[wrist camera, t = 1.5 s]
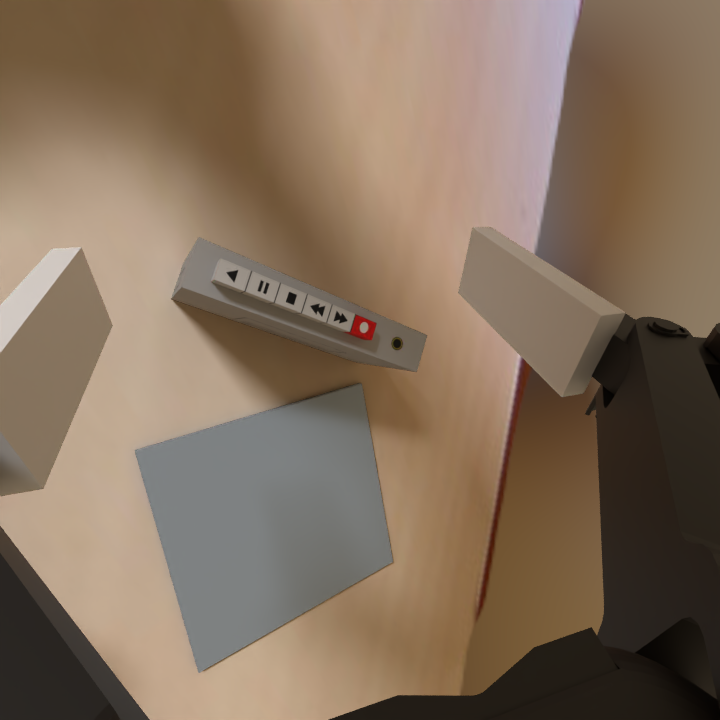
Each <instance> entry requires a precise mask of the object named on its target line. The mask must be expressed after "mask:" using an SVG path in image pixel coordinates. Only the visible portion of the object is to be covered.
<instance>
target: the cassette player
mask: <svg viewBox="0 0 720 720" xmlns="http://www.w3.org/2000/svg"><path fill="white" fill-rule="evenodd" d="M171 299H173V300H176V301H178V302H181V303H184V304H187V305H190V306H193V307H196V308H199V309H202V310H205V311H208V312H211V313H213V314H216V315H219V316H222V317H225V318H228V319H231V320H234V321H237V322H240V323H243V324H245V325H248V326H251V327H254V328H257V329H260V330H263V331H266V332H269V333H272V334H275V335H278V336H280V337H283V338H286V339H289V340H292V341H295V342H298V343H301V344H304V345H307V346H310V347H313V348H315V349H318V350H321V351H324V352H327V353H330V354H333V355H336V356H339V357H342V358H345V359H347V360H350V361H353V362H356V363H363V364H369V365H375V366H382V367H388V368H394V369H401V370H407V371H413V372H417V369H418V366H419V362H420V359H421V355H422V352H423V348H424V345H425V341H426V338H427V335H425V334H423V333H421V332H418V331H416V330H414V329H411V328H409V327H407V326H404V325H402V324H400V323H397V322H395V321H393V320H390V319H388V318H386V317H384V316H381V315H379V314H377V313H374V312H372V311H370V310H367V309H365V308H363V307H360V306H358V305H356V304H353V303H351V302H349V301H346V300H344V299H342V298H339V297H337V296H335V295H332V294H330V293H328V292H325V291H323V290H321V289H318V288H316V287H314V286H311V285H309V284H307V283H304V282H302V281H300V280H297V279H295V278H293V277H290V276H288V275H286V274H283V273H281V272H279V271H276V270H274V269H272V268H269V267H267V266H265V265H262V264H260V263H258V262H255V261H253V260H251V259H248V258H246V257H244V256H241V255H239V254H237V253H235V252H232V251H230V250H228V249H225V248H223V247H221V246H218V245H216V244H214V243H211V242H209V241H207V240H204V239H202V238H200V237H199V238H198V239H197V241H196V243H195V244H194V246H193V248H192V249H191V251H190V253H189V255H188V256H187V258H186V260H185V261H184V263H183V266H182V269H181V272H180V275H179V278H178V280H177V283H176V286H175V289H174V292H173V295H172V298H171Z"/></svg>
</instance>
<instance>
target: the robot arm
mask: <svg viewBox="0 0 720 720" xmlns="http://www.w3.org/2000/svg"><path fill="white" fill-rule="evenodd" d="M458 293H459V294H460V295H461V296H462V297H463V298H464V299H465V300H466V301H467V302H468V303H469V304H470V305H471V306H472V307H473V308H474V309H475V310H476V311H477V312H478V313H479V314H480V315H481V316H482V317H483V318H484V319H485V320H486V321H487V322H488V323H489V324H490V325H491V326H492V327H493V328H494V329H495V330H496V331H497V332H498V333H499V334H500V335H501V336H502V338H503V339H504V340H505V341H506V342H507V343H508V344H509V345H510V346H511V347H512V348H513V349H514V350H515V351H516V352H517V353H518V354H519V355H520V356H521V357H522V358H523V359H524V360H525V361H526V362H527V363H528V364H529V365H530V366H531V367H532V368H533V369H534V370H535V371H536V372H537V373H538V374H539V375H540V376H541V377H542V378H543V379H544V380H545V381H546V382H547V383H548V384H549V385H550V386H551V387H552V388H553V389H554V390H555V391H556V392H557V393H558V394H559V395H560V396H561V397H565V396H571V395H577V394H582V393H584V391H585V389H586V387H587V386H588V383H589V382H590V380H591V378H592V377H594V378H595V379H596V380H597V381H598V382H599V383H600V384H601V385H600V387H599V389H598V391H597V392H596V394H595V396H594V398H593V400H592V401H591V403H590V405H589V407H588V408H587V410H586V413H585V414H586V415H590V413H591V411H593V410H596V419H597V443H598V468H599V492H600V514H601V541H602V565H603V588H604V615H603V621H602V624H601V626H600V629H599V632H598V635H596V634H595V632H594V631H593V629H592V628H588V629H585V630H583V631H580V632H577V633H574V634H571V635H568V636H566V637H563V638H560V639H557V640H554V641H552V642H549V643H546V644H543V645H540V646H537V647H534V648H533V649H532V650H531V651H530V652H529V653H527V654H526V655H525V656H524V657H523V658H522V659H521V660H519V661H518V662H517V663H516V664H515V665H514V666H513V667H511V668H510V669H509V670H508V671H507V672H506V673H505V674H503V675H502V676H501V677H500V678H499V679H498V680H497V681H496V682H494V683H493V684H492V685H491V686H490V687H489V688H488V689H487V690H485V691H484V692H483V693H481V694H478V695H474V696H422V695H397V696H395V697H392V698H389V699H386V700H383V701H380V702H378V703H375V704H372V705H369V706H366V707H363V708H360V709H358V710H355V711H352V712H349V713H346V714H343V715H341V716H338V717H335V718H332V719H329V720H720V323H718V324H716V326H715V327H714V328H713V330H712V331H711V333H710V334H709V336H708V337H707V338H698V337H693V336H692V335H691V334H690V333H689V331H687V329H685V328H683V327H681V326H680V325H677V324H675V323H673V322H671V321H668V320H664V319H660V318H654V317H642V318H639V319H637V320H635V319H633V318H631V317H630V316H628V315H627V314H625V312H624V311H622V310H621V309H619V308H618V307H616V306H614V305H613V304H611V303H610V302H608V301H606V300H605V299H603V298H602V297H600V296H599V295H597V294H596V293H594V292H592V291H591V290H589V289H588V288H586V287H584V286H583V285H581V284H580V283H578V282H577V281H575V280H573V279H572V278H570V277H569V276H567V275H566V274H564V273H562V272H561V271H559V270H558V269H556V268H555V267H553V266H551V265H550V264H548V263H547V262H545V261H544V260H542V259H540V258H539V257H537V256H536V255H534V254H532V253H531V252H529V251H528V250H526V249H525V248H523V247H521V246H520V245H518V244H517V243H515V242H514V241H512V240H510V239H509V238H507V237H506V236H504V235H503V234H501V233H499V232H498V231H496V230H495V229H493V228H492V227H475V228H472V232H471V237H470V241H469V246H468V250H467V255H466V260H465V264H464V269H463V273H462V278H461V282H460V287H459V292H458ZM112 326H113V325H112V323H111V320H110V318H109V315H108V313H107V310H106V308H105V305H104V303H103V300H102V298H101V295H100V293H99V290H98V288H97V285H96V283H95V280H94V278H93V275H92V273H91V270H90V268H89V265H88V263H87V260H86V258H85V255H84V253H83V250H82V248H81V247H77V248H57V249H51V250H50V251H49V253H48V254H47V255H46V256H45V257H44V258H43V259H42V260H41V261H40V262H39V263H38V265H37V266H36V267H35V268H34V269H33V270H32V271H31V272H30V273H29V274H28V275H27V277H26V278H25V279H24V280H23V281H22V282H21V283H20V284H19V285H18V286H17V287H16V289H15V290H14V291H13V292H12V293H11V294H10V295H9V296H8V297H7V298H6V300H5V301H4V302H3V303H2V304H1V305H0V496H5V495H11V494H16V493H22V492H27V491H33V490H39V489H43V488H44V486H45V484H46V481H47V479H48V476H49V474H50V472H51V469H52V467H53V465H54V462H55V460H56V458H57V455H58V453H59V451H60V448H61V446H62V443H63V441H64V439H65V436H66V434H67V432H68V429H69V427H70V425H71V422H72V420H73V418H74V415H75V413H76V410H77V408H78V406H79V403H80V401H81V399H82V396H83V394H84V392H85V389H86V387H87V385H88V382H89V380H90V377H91V375H92V373H93V370H94V368H95V366H96V363H97V361H98V359H99V356H100V354H101V352H102V349H103V347H104V344H105V342H106V340H107V337H108V335H109V333H110V330H111V328H112ZM0 720H149V719H148V717H147V716H146V715H145V713H144V712H143V711H142V709H141V708H140V707H139V706H138V704H137V703H136V702H135V700H134V699H133V698H132V696H131V695H130V694H129V693H128V691H127V690H126V689H125V687H124V686H123V685H122V683H121V682H120V681H119V680H118V678H117V677H116V676H115V674H114V673H113V672H112V670H111V669H110V668H109V667H108V665H107V664H106V663H105V661H104V660H103V659H102V657H101V656H100V655H99V654H98V652H97V651H96V650H95V648H94V647H93V646H92V645H91V643H90V642H89V641H88V639H87V638H86V637H85V635H84V634H83V633H82V632H81V630H80V629H79V628H78V626H77V625H76V624H75V622H74V621H73V620H72V619H71V617H70V616H69V615H68V613H67V612H66V611H65V609H64V608H63V607H62V606H61V604H60V603H59V602H58V600H57V599H56V598H55V596H54V595H53V594H52V593H51V591H50V590H49V589H48V587H47V586H46V585H45V583H44V582H43V581H42V580H41V578H40V577H39V576H38V574H37V573H36V572H35V571H34V569H33V568H32V567H31V565H30V564H29V563H28V561H27V560H26V559H25V558H24V556H23V555H22V554H21V552H20V551H19V550H18V548H17V547H16V546H15V545H14V543H13V542H12V541H11V539H10V538H9V537H8V535H7V534H6V533H5V532H4V530H3V529H2V528H1V526H0Z"/></svg>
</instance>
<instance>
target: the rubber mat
mask: <svg viewBox="0 0 720 720" xmlns="http://www.w3.org/2000/svg"><path fill="white" fill-rule="evenodd" d="M135 453H136V457H137V460H138V464H139V467H140V471H141V474H142V478H143V481H144V485H145V488H146V492H147V495H148V499H149V502H150V506H151V509H152V512H153V516H154V519H155V523H156V526H157V530H158V533H159V537H160V540H161V544H162V547H163V551H164V554H165V558H166V561H167V565H168V568H169V572H170V575H171V578H172V582H173V585H174V589H175V592H176V596H177V599H178V603H179V606H180V610H181V613H182V617H183V620H184V624H185V627H186V631H187V634H188V637H189V641H190V644H191V648H192V651H193V655H194V658H195V662H196V665H197V669H198V672H199V673H200V672H201V671H203V670H205V669H206V668H208V667H210V666H212V665H213V664H215V663H217V662H219V661H220V660H222V659H224V658H226V657H227V656H229V655H231V654H233V653H234V652H236V651H238V650H240V649H241V648H243V647H245V646H247V645H248V644H250V643H252V642H254V641H255V640H257V639H259V638H261V637H262V636H264V635H266V634H268V633H269V632H271V631H273V630H275V629H276V628H278V627H280V626H282V625H283V624H285V623H287V622H289V621H290V620H292V619H294V618H296V617H297V616H299V615H301V614H303V613H304V612H306V611H308V610H310V609H311V608H313V607H315V606H317V605H318V604H320V603H322V602H324V601H325V600H327V599H329V598H331V597H332V596H334V595H336V594H338V593H339V592H341V591H343V590H345V589H346V588H348V587H350V586H352V585H353V584H355V583H357V582H359V581H360V580H362V579H364V578H366V577H367V576H369V575H371V574H373V573H374V572H376V571H378V570H380V569H381V568H383V567H385V566H387V565H388V564H390V563H392V562H393V558H392V553H391V547H390V541H389V536H388V530H387V524H386V519H385V513H384V507H383V501H382V496H381V490H380V484H379V479H378V473H377V467H376V462H375V456H374V450H373V444H372V439H371V433H370V427H369V422H368V416H367V410H366V405H365V399H364V393H363V388H362V384H361V383H358V384H355V385H351V386H348V387H345V388H341V389H338V390H335V391H331V392H328V393H325V394H321V395H318V396H315V397H311V398H308V399H305V400H301V401H298V402H295V403H291V404H288V405H285V406H281V407H278V408H275V409H271V410H268V411H265V412H261V413H258V414H254V415H251V416H248V417H244V418H241V419H238V420H234V421H231V422H228V423H224V424H221V425H218V426H214V427H211V428H208V429H204V430H201V431H198V432H194V433H191V434H188V435H184V436H181V437H178V438H174V439H171V440H168V441H164V442H161V443H158V444H154V445H151V446H148V447H144V448H141V449H138V450H135Z"/></svg>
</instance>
